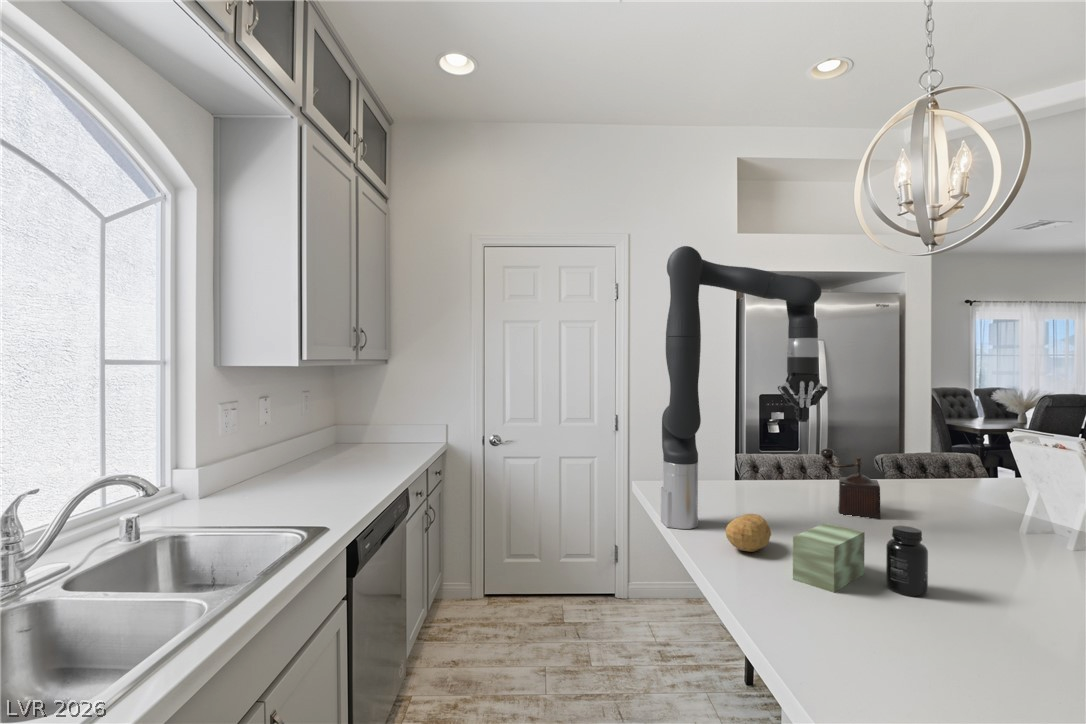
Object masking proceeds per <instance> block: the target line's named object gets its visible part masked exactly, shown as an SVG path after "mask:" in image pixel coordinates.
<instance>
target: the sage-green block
mask: <svg viewBox="0 0 1086 724" xmlns="http://www.w3.org/2000/svg"><path fill="white" fill-rule="evenodd" d="M865 533H866V532H865V531H863V530H859V529H854V528H849V527H846V526H845V527H844V526H841V525H836V524H833V523H832V524H831V523H828V522H824V523H822V524H819V525H817V526H814V527H812V528H810V529H808V530H805V531H804V532H801V533H798V534H796V535H794V536H792V580H793V581H796V582H798V583H802V584H805V585H809V586H811V587H815V588H817V589H821V590H823V591H828V592H830V593H832V594H833V593H836V592H837V591H839V590H840V589H842V588H844V587H845V586H847V585H848V583H849V584H850V583H852V582H853V581H855V580H857V579H858V578H860V577H861V576H863V575H864V574H865V539H866V538H865ZM856 578H857V579H856ZM851 581H852V582H851Z"/></svg>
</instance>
